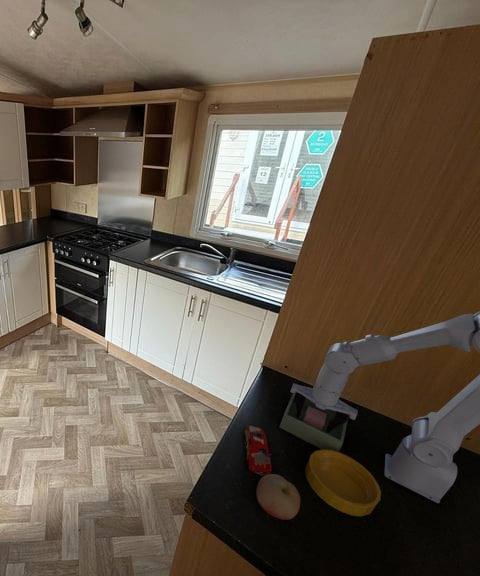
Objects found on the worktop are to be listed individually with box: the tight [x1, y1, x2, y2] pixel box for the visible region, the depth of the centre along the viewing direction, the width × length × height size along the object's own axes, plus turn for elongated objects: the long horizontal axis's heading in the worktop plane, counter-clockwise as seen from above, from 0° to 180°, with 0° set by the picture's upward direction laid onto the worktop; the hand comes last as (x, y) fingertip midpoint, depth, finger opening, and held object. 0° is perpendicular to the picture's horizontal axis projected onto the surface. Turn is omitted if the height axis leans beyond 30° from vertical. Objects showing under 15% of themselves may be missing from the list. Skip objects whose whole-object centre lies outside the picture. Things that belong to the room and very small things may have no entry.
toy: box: [302, 406, 327, 431], centre depth 86 cm, size 4×4×4 cm
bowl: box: [304, 449, 382, 517], centre depth 72 cm, size 13×13×4 cm
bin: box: [279, 393, 349, 452], centre depth 86 cm, size 13×13×6 cm
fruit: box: [256, 473, 301, 521], centre depth 67 cm, size 8×8×8 cm
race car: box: [243, 425, 273, 477], centre depth 79 cm, size 13×5×4 cm, turn 161°
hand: (312, 422), depth 87 cm, fingers open, 7 cm apart
